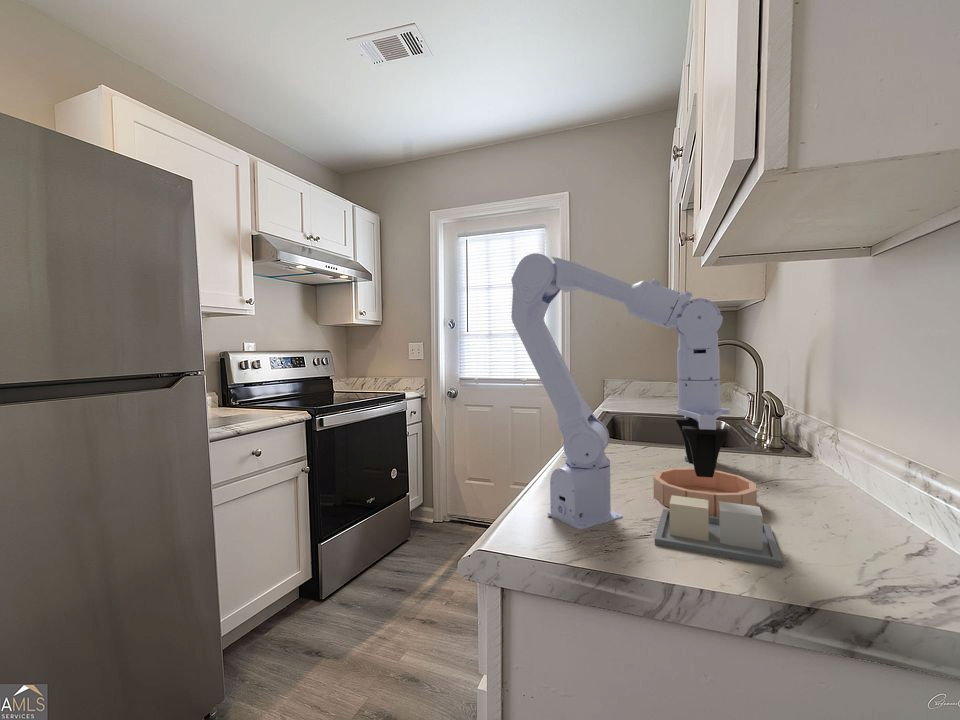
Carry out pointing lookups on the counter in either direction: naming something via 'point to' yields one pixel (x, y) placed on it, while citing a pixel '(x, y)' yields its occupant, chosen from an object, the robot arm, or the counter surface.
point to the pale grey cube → (741, 525)
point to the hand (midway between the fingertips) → (700, 469)
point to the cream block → (689, 517)
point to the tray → (715, 547)
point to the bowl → (704, 488)
